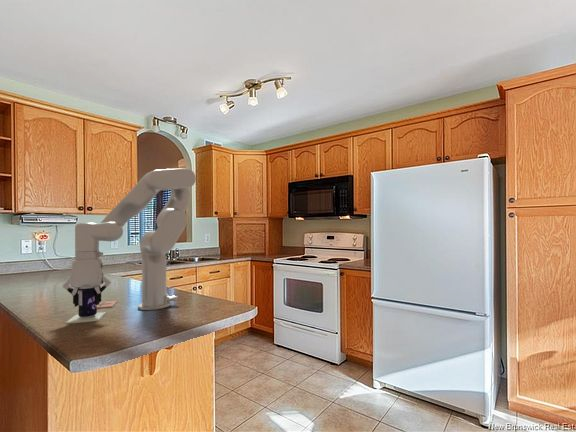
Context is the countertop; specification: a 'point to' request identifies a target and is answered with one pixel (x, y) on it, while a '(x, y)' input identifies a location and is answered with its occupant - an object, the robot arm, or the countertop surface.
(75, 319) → the pad
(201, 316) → the countertop surface
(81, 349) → the countertop surface
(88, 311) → the beverage can
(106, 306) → the pad
